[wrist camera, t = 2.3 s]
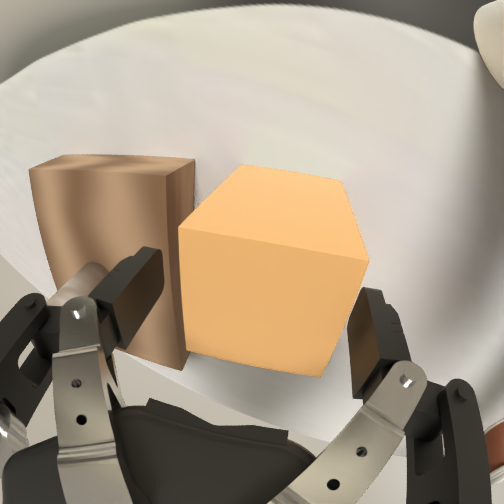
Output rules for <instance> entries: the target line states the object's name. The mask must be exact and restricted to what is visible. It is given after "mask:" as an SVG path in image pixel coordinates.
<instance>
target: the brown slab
mask: <svg viewBox="0 0 504 504" xmlns="http://www.w3.org/2000/svg"><path fill="white" fill-rule="evenodd" d="M194 172H195V159H184V158H171V157H155V156H134V155H63V156H60V157H57V158H55V159H52V160H50V161H47V162H45V163H43V164H40V165H38V166H35V167H33V168H31V169H29V176H30V183H31V189H32V195H33V201H34V206H35V211H36V216H37V221H38V225H39V230H40V234H41V238H42V242H43V246H44V249H45V253H46V256H47V260H48V263H49V266H50V270H51V273H52V276H53V279H54V282H55V285H56V288H57V292H56V293H55V294H54V295H53V296H52V297H51V298H50V299H49V300H48V301H47V302H46V303H47V305H51V306H63V305H64V304H65V303H66V302H67V301H68V300H70V299H71V298H74V297H77V296H88V295H89V294H90V293H91V291H92V290H93V289H94V288H95V287H96V286H97V285H98V284H99V283H100V282H101V281H102V279H103V278H104V277H105V276H107V274H108V273H109V272H110V271H111V270H113V268H114V267H115V266H116V265H117V264H118V263H119V262H120V261H121V260H123V259H125V258H127V257H129V256H134V255H135V254H136V253H137V252H138V251H139V249H140V248H141V247H143V246H146V247H151V248H156V249H160V250H161V251H162V255H163V267H164V279H165V283H164V289H163V292H162V294H161V296H160V297H159V299H158V300H157V302H156V304H155V305H154V307H153V308H152V310H151V311H150V313H149V314H148V316H147V317H146V319H145V320H144V322H143V324H142V325H141V327H140V328H139V330H138V331H137V333H136V335H135V336H134V338H133V339H132V341H131V343H130V344H129V346H128V347H127V349H126V350H124V349H121V348H118V347H115V349H118V350H120V351H123V352H126V353H128V354H131V355H134V356H137V357H139V358H142V359H145V360H148V361H151V362H154V363H157V364H160V365H163V366H167V367H170V368H173V369H176V370H180V371H182V370H183V367H184V365H185V363H186V361H187V359H188V356H189V354H190V352H191V351H187V350H186V341H185V331H184V320H183V308H182V295H181V280H180V262H179V238H178V227H179V226H180V225H181V224H182V222H183V221H184V220H185V219H186V218H187V217H188V216H189V215H190V214H191V213H192V212H193V211H194Z"/></svg>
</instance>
